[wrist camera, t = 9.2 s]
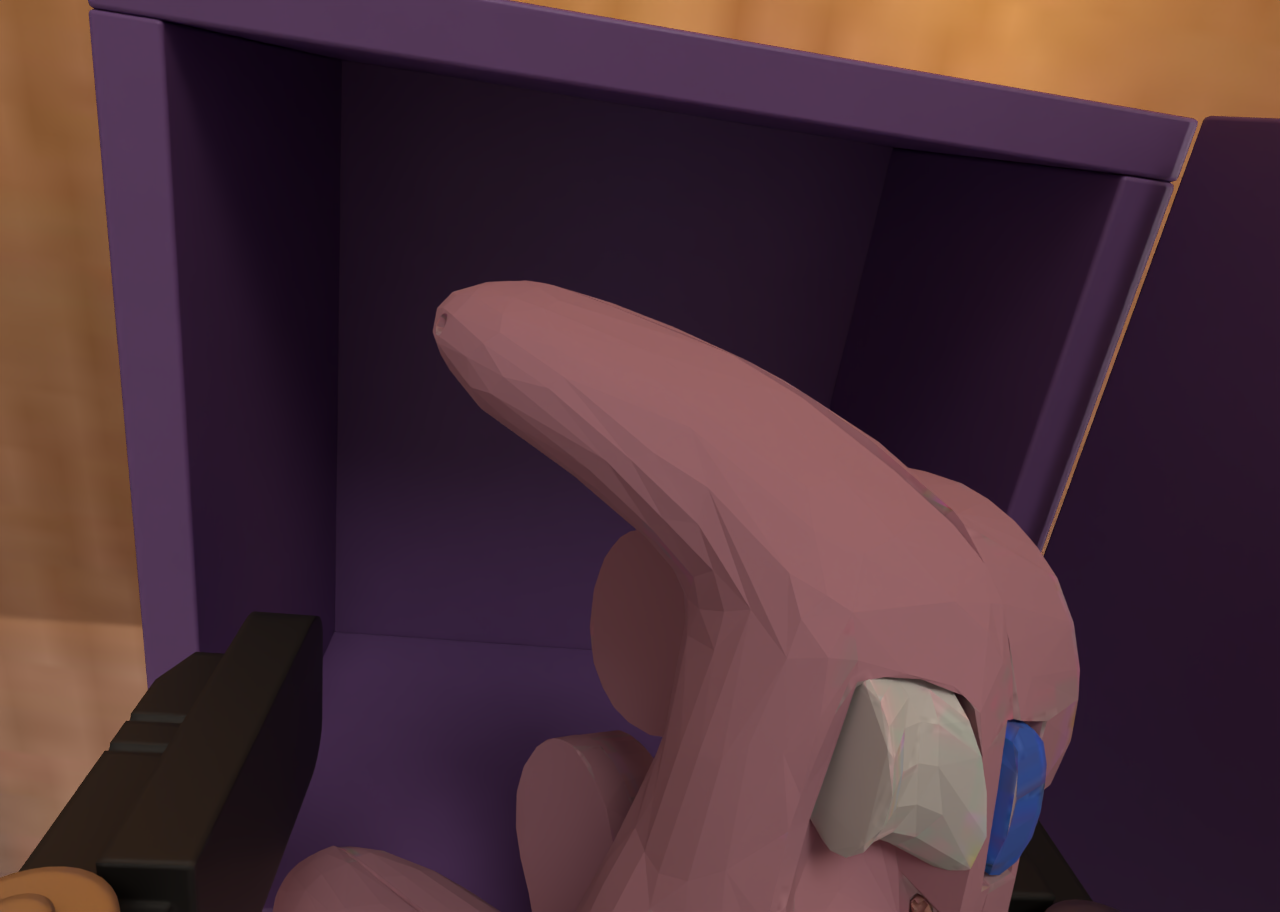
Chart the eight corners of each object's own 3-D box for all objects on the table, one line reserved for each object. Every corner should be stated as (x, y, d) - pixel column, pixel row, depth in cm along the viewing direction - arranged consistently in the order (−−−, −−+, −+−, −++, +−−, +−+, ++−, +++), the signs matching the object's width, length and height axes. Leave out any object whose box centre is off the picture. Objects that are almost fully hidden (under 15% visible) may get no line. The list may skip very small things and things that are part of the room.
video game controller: (532, 842, 14) (785, 1349, 9) (246, 905, 12) (382, 1668, 7) (751, 303, 11) (1328, 629, 6) (424, 216, 8) (968, 678, 3)
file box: (312, 636, 23) (168, 941, 15) (312, 14, 18) (78, -76, 9) (782, 669, 25) (895, 957, 17) (920, 114, 19) (1202, 119, 11)
